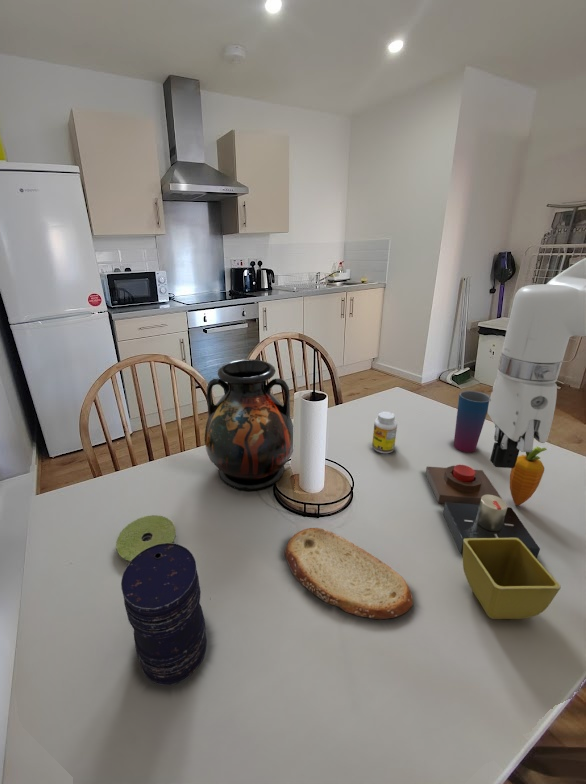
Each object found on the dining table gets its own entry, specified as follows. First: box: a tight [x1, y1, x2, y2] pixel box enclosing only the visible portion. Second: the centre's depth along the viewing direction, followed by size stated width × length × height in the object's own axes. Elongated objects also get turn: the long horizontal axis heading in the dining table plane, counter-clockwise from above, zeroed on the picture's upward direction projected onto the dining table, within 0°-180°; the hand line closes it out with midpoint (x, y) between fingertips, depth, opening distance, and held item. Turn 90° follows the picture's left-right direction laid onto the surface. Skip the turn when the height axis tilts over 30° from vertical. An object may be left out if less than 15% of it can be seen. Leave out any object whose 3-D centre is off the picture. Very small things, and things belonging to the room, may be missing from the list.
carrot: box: [509, 446, 548, 506], centre depth 72 cm, size 5×5×15 cm
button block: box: [424, 465, 503, 505], centre depth 79 cm, size 12×10×4 cm
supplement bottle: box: [371, 411, 398, 454], centre depth 94 cm, size 6×6×10 cm
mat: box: [115, 514, 177, 562], centre depth 69 cm, size 11×11×2 cm
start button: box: [453, 464, 475, 482], centre depth 78 cm, size 4×4×2 cm
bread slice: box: [284, 527, 414, 620], centre depth 61 cm, size 18×18×4 cm
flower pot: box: [462, 538, 562, 620], centre depth 54 cm, size 9×9×9 cm
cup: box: [453, 390, 491, 453], centre depth 92 cm, size 7×7×15 cm
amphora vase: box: [204, 358, 294, 493], centre depth 84 cm, size 22×22×28 cm
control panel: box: [442, 502, 541, 560], centre depth 67 cm, size 12×10×3 cm
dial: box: [476, 495, 509, 531], centre depth 65 cm, size 4×4×5 cm
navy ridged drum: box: [120, 542, 207, 686], centre depth 49 cm, size 10×10×15 cm
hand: (501, 464), depth 62 cm, fingers closed
